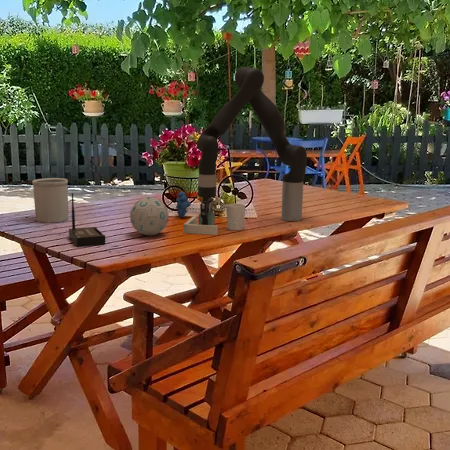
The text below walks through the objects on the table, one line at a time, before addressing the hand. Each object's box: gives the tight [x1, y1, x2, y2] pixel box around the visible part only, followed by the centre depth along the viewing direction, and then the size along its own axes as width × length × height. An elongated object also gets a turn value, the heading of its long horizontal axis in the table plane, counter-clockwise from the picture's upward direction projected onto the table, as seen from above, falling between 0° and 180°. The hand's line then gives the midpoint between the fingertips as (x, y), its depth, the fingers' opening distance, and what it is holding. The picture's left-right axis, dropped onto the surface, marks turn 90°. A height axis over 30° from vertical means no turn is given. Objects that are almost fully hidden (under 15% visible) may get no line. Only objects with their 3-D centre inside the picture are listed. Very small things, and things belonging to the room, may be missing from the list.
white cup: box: [225, 203, 246, 231], centre depth 257 cm, size 8×8×10 cm
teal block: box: [198, 212, 216, 226], centre depth 254 cm, size 6×6×6 cm
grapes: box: [175, 191, 192, 218], centre depth 279 cm, size 12×7×12 cm, turn 20°
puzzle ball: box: [129, 196, 170, 237], centre depth 244 cm, size 15×15×15 cm
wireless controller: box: [68, 192, 106, 248], centre depth 235 cm, size 20×14×17 cm
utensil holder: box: [31, 177, 69, 224], centre depth 269 cm, size 15×15×18 cm
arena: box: [182, 215, 219, 236], centre depth 256 cm, size 17×14×4 cm
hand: (206, 225), depth 255 cm, fingers closed on teal block, 5 cm apart
